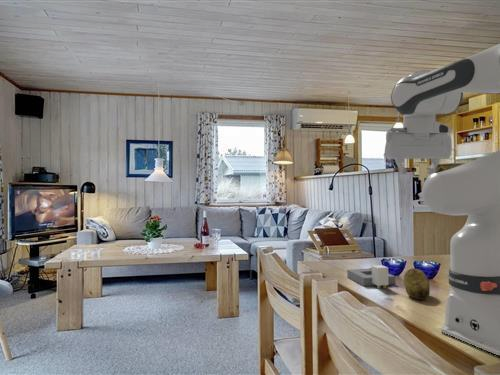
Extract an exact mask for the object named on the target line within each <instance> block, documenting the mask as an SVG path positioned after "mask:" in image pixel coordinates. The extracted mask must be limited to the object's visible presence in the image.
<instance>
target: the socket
mask: <svg viewBox="0 0 500 375" xmlns="http://www.w3.org/2000/svg"><path fill="white" fill-rule="evenodd" d="M346 273H347V274H346V275H347V278H348V279H350V280H351V281H353V282H354V283H356V284H358V285H360V286H362V287H365V288H366V287H377V285H375V284H373V283H372V267H369V268H355V269H354V268H353V269H347V270H346ZM395 285H396V275H393V274H390V273H389V272H388V285H387V286H395ZM381 286H382V287H383V285H380V287H381Z"/></svg>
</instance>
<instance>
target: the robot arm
mask: <svg viewBox="0 0 500 375" xmlns="http://www.w3.org/2000/svg"><path fill="white" fill-rule="evenodd" d="M464 93H471V94H473V93H475V94H493V95H494V94H495V95H497V94H500V43H497V44H496V45H493V46H491V47H489V48H487V49H484V50H482V51H480V52H478V53H475V54H472V55H470V56H468V57H465V58H462V59H459V60H457V61H455V62H451V63H448V64H446V65H443V66H441V67H439V68H435V69H434V70H426V69H425V70H423V69H422V70H419V71H415V72H413V73H411V74H410V75H407V76H404V77H402V78H401V79H400V80H398V82H397V83H396V84H395V85H394V87H393V88H392V91H391V96H390V99H391V104H392V106H393V108H394V109H395V110H396V111H397V112H398V113H399V114H400V115H403V117H402V118H403V120H402V127H391V128H390V129H388V130H387V131H386V135H385V140H386V142H385V146H384V157H385V158H386V159H387V160H395V164H396V166H397V168H398V174H399V175H406V174H407V171H408V170H407V167H406V168H405V167H404V165H403V164H404V163H405V162H404V160H413V159H414V160H418V159H419V160H422V159H423V160H424V159H425V160H428V159H429V160H430V163H431V164H430V166H429V167H427V171H426V174H428V176H427V178H426V179H425V180H424V182H423V184H422V189H421V197H422V201H423V203H424V204H425V207H427V209H428V210H429V211H431V212H432V213H436V214H440V215H446V216H457V217H458V216H467V219H466V221H465V224H464V225H463V227H462V228H461V229H460V230H458V231H457V232H456V233H455V234H453V235H452V236H451V239H450V242H449V246H450V248H449V249H450V269H448V275H447V278H448V284H449V285H450V288H449V291H448V295H447V297H446V303H445V316H444V323H443V325H442V326H441V329H440V332H441V333H442V332H443V333H442V334H444V333H445V334H444V335H446V334H448V335H447V336H449V335H451V336H453V337H455V338H454V339H456V338H458V339H460V340H462V341H461V342H463V341H465V342H468V343H470V344H473V345H476V346H478V347H481V348H483V349H485V350H488V351H490V352H492V353H494V354H496V355H500V149H497V150H496V151H494V152H492V153H489V154H487V155H484V156H481V157H478V158H476V159H473V160H470V161H468V162H466V163H463V164H460V165H457V166H455V167H452V168H449V169H446V170H442V171H439V172H436V168H437V167H438V165H439V163H440V160H441V159H443V160H444V159H449V158H450V157H451V156H452V150H453V147H452V146H453V145H452V144H453V141H452V138H451V135H450V134H451V132H452V128H451V126H449V125H448V124H444V123H443V122H442V123H441V122H440V121H436V119H437V118H436V115H447V114H450V113H454V112H455V111H457V109H458V108H459V107H460V105H461V104H462V102H463V99H464V98H463V97H464ZM451 336H450V337H451ZM453 337H452V338H453ZM458 339H457V340H458ZM460 340H459V341H460ZM465 342H464V343H465ZM470 344H469V345H470ZM496 355H495V356H496Z"/></svg>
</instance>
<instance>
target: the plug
mask: <svg viewBox="0 0 500 375" xmlns="http://www.w3.org/2000/svg"><path fill="white" fill-rule="evenodd" d="M371 268H372V283H373V284H375V285H377V286H376V288H377V289H381V286H380V285H382V287H383V289H387V286H389V285H388V273H389V267H388V266H385V265H381V264H380V265H379V264H378V265H371Z"/></svg>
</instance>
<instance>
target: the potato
mask: <svg viewBox="0 0 500 375" xmlns="http://www.w3.org/2000/svg"><path fill="white" fill-rule="evenodd" d="M403 285H404V288H405V291H406V294H407V295H408V296H409V297H410V298H413V299H415V300H420V301H422V300H426V299H427V298H428V297H429V296H430V294H431V292H430V290H431V288H430V280H429V278H428V276H426V274H425V272H424V270H421V269H419V268H411V269H408V270H407V271H406V272H405V273H404V276H403Z"/></svg>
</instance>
